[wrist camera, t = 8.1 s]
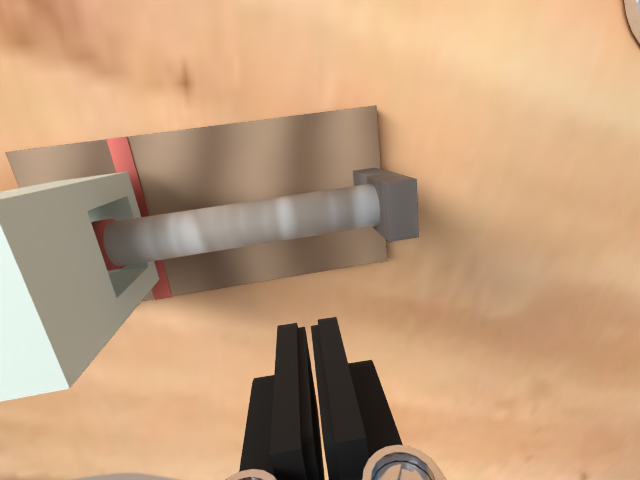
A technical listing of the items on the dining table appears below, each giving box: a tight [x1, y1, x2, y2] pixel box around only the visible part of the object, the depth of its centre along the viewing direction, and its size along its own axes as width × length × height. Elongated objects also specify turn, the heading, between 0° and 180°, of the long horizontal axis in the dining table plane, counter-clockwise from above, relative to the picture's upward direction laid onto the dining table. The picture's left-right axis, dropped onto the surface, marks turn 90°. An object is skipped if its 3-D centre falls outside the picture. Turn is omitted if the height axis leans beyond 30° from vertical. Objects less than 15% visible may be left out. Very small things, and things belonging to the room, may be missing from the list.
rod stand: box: [5, 106, 419, 301], centre depth 20 cm, size 23×11×8 cm, turn 98°
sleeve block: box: [0, 171, 159, 401], centre depth 16 cm, size 4×7×10 cm, turn 7°
